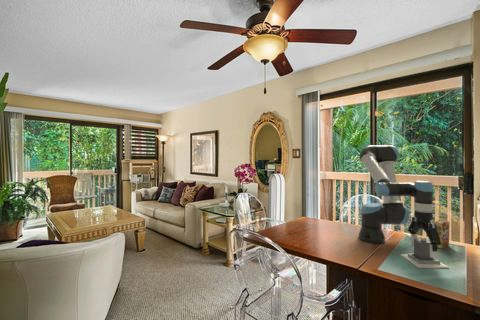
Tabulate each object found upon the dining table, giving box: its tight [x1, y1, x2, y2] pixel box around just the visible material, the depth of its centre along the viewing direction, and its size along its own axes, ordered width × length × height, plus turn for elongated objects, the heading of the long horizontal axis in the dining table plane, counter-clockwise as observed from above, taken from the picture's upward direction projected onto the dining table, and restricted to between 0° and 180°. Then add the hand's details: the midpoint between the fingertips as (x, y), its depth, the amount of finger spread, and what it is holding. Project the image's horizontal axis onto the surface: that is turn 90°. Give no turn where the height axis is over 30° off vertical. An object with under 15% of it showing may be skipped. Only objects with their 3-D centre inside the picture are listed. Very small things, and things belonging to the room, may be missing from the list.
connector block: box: [413, 236, 433, 260], centre depth 119 cm, size 5×6×12 cm
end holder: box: [400, 252, 450, 269], centre depth 119 cm, size 14×14×2 cm
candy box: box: [433, 219, 451, 249], centre depth 138 cm, size 9×4×15 cm, turn 115°
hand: (423, 251), depth 119 cm, fingers open, 13 cm apart
